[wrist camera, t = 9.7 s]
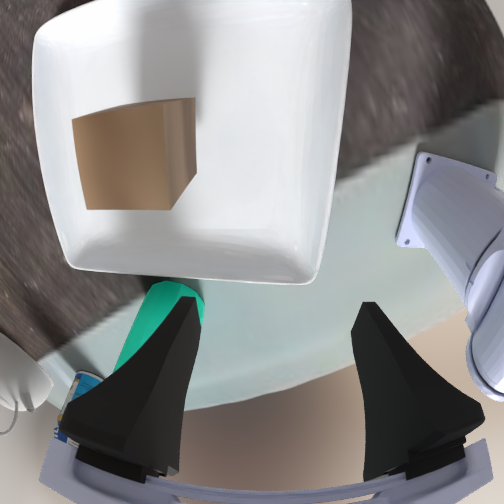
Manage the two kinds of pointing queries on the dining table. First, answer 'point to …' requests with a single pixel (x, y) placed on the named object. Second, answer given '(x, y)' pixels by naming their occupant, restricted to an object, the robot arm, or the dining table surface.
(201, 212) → the salad plate
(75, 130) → the walnut block
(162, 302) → the candle
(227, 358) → the dining table surface
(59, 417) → the beverage bottle
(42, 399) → the kettle
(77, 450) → the robot arm
